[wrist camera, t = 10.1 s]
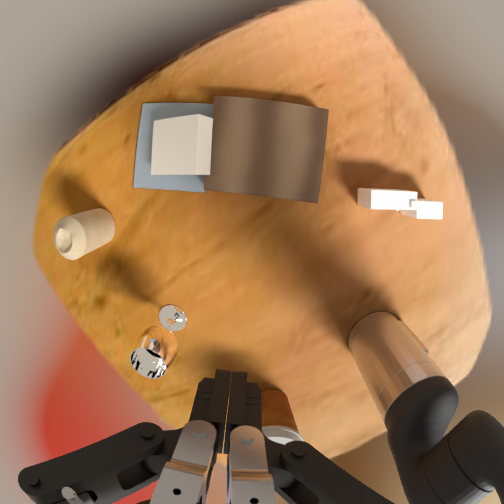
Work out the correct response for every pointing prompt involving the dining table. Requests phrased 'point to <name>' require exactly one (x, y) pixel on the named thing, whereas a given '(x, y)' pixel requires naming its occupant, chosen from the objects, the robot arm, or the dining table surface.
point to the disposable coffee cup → (278, 417)
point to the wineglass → (158, 344)
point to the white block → (182, 145)
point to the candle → (83, 232)
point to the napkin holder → (400, 202)
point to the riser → (267, 148)
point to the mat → (144, 147)
